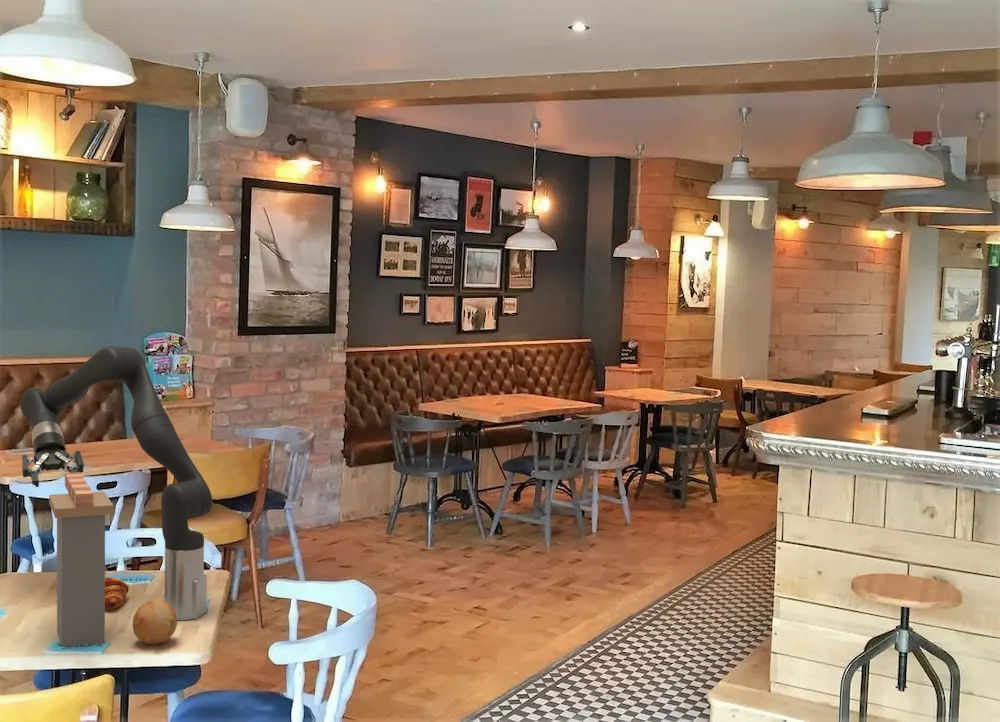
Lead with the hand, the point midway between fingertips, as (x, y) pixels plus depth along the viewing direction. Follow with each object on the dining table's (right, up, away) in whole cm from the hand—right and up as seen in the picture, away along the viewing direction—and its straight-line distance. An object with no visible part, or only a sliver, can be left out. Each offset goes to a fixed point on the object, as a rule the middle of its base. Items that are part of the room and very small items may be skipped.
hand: (56, 482), depth 260 cm
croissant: (+11, -31, +6) cm, 34 cm away
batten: (+13, -1, -19) cm, 23 cm away
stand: (+14, -33, -21) cm, 42 cm away
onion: (+32, -34, -23) cm, 52 cm away
